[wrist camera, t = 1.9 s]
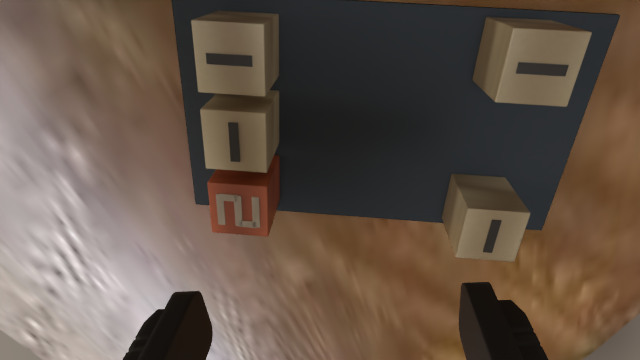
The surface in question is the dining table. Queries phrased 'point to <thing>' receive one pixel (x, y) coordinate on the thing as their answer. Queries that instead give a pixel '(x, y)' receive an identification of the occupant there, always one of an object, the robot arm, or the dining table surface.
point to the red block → (244, 200)
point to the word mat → (395, 106)
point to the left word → (238, 88)
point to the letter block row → (517, 88)
